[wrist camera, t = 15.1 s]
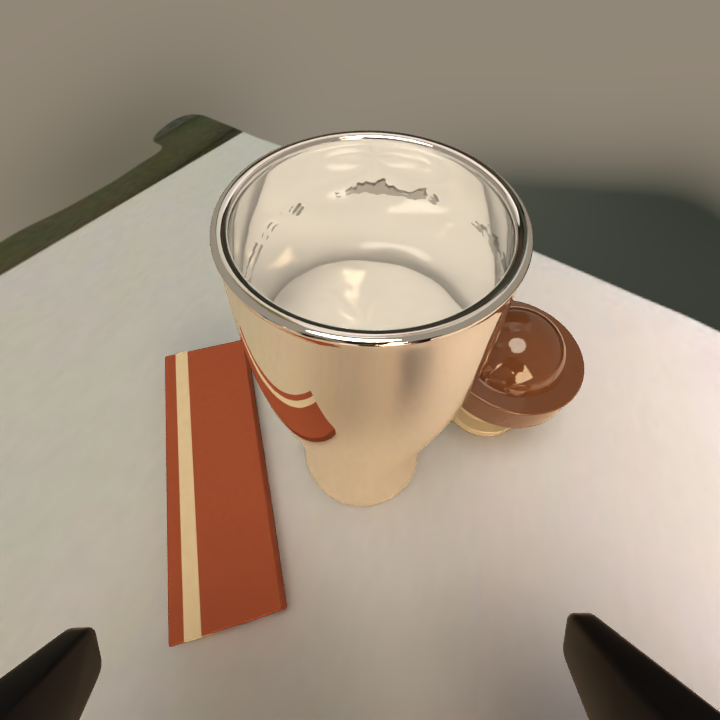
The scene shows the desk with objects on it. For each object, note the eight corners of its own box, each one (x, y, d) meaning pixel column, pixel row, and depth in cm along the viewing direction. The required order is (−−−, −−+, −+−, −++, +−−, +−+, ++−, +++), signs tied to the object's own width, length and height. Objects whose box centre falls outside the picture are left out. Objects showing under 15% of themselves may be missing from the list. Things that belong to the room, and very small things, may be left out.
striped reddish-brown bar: (248, 352, 24) (242, 338, 22) (287, 608, 17) (282, 610, 15) (175, 368, 23) (164, 355, 22) (183, 643, 16) (167, 648, 15)
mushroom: (547, 380, 23) (618, 302, 17) (520, 474, 20) (596, 422, 14) (448, 340, 24) (479, 254, 18) (409, 422, 21) (431, 353, 15)
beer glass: (391, 544, 18) (479, 431, 5) (272, 474, 20) (117, 259, 7) (444, 424, 21) (578, 173, 8) (338, 373, 23) (316, 99, 10)
